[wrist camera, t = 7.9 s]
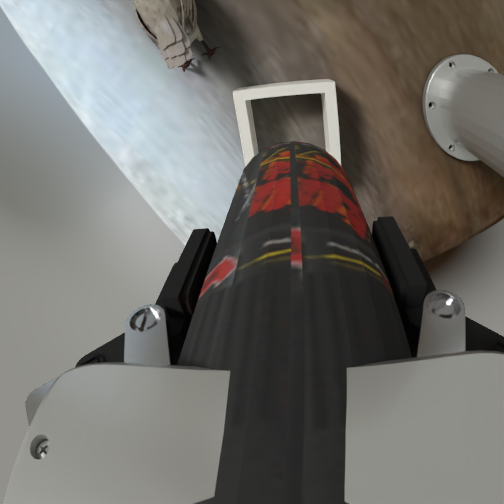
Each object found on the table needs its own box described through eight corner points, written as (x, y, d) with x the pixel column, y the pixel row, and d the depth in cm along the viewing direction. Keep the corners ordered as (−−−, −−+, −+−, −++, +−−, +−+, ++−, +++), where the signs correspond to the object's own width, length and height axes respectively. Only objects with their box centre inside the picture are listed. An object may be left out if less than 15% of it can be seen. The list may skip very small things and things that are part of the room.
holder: (329, 79, 28) (334, 81, 24) (335, 162, 33) (341, 175, 30) (238, 87, 29) (232, 91, 26) (252, 169, 34) (248, 182, 31)
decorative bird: (168, -57, 20) (140, -79, 13) (227, 54, 27) (211, 53, 21) (126, -33, 21) (91, -46, 15) (181, 76, 29) (154, 82, 23)
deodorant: (366, 215, 17) (444, 514, 4) (274, 257, 19) (245, 537, 7) (316, 120, 14) (426, 492, 2) (216, 176, 16) (78, 485, 4)
